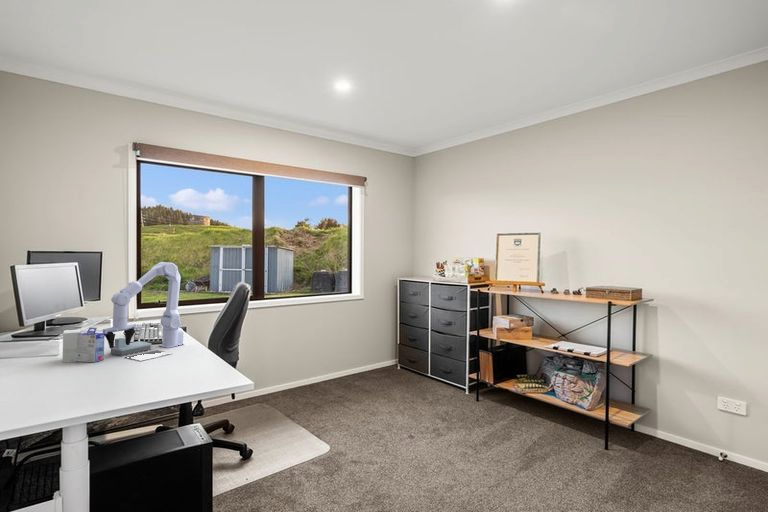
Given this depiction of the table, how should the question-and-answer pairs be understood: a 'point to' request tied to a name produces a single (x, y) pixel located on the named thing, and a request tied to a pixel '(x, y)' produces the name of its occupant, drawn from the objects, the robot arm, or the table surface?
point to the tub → (130, 351)
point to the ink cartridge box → (90, 346)
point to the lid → (122, 346)
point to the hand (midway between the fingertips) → (119, 346)
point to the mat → (146, 353)
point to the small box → (70, 345)
